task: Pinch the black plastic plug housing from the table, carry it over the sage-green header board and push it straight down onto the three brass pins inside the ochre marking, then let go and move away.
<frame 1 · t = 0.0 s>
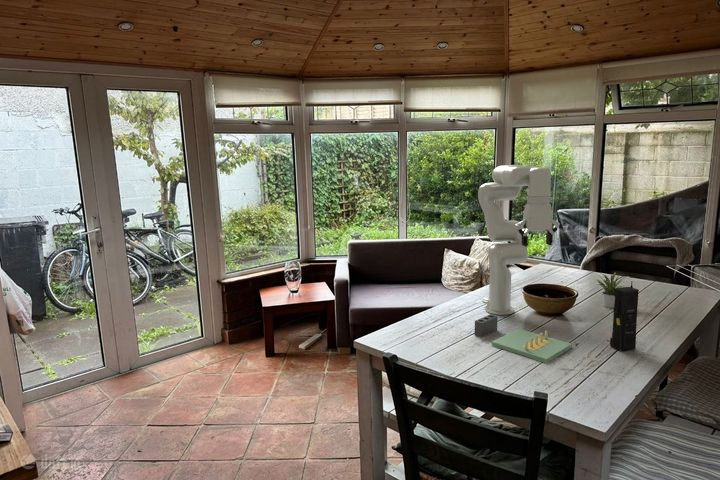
hand: (536, 245, 183), 37 cm above the table, tool pointing down, fingers open, 9 cm apart
portable radio: (621, 348, 177), on the table
plug housing: (486, 332, 196), on the table
house plant: (611, 306, 224), on the table
header board: (531, 346, 181), on the table
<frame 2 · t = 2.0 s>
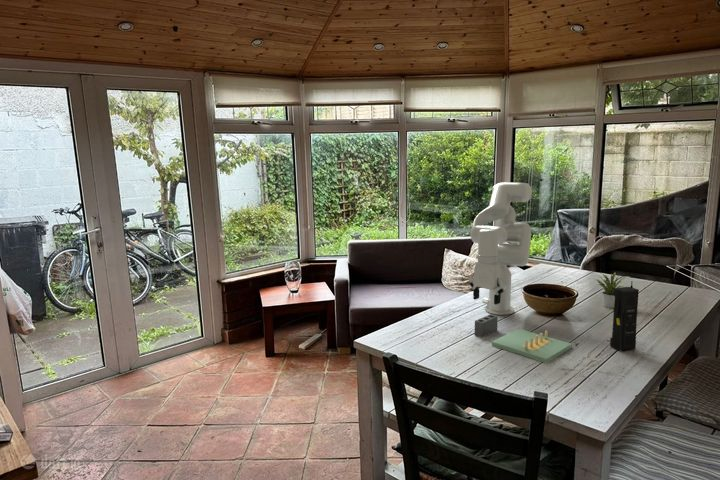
hand: (486, 301, 193), 14 cm above the table, tool pointing down, fingers open, 9 cm apart
nothing on the table moved.
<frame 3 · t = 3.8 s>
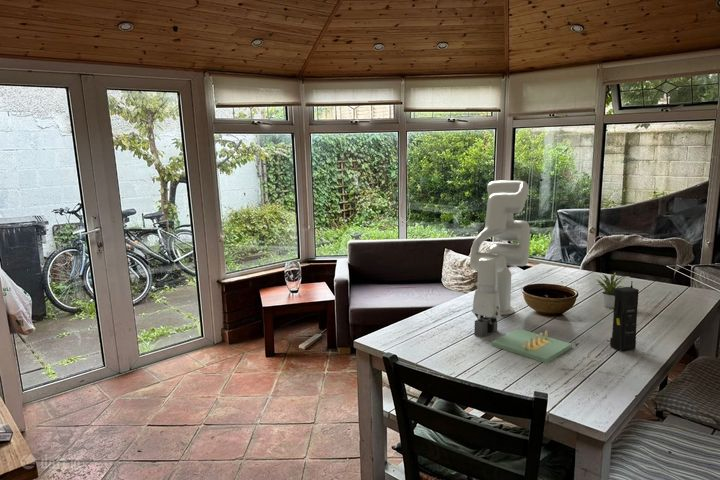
hand: (486, 330, 195), 1 cm above the table, tool pointing down, fingers closed on plug housing, 3 cm apart
plug housing: (485, 332, 196), on the table, touching gripper
everything else where it was.
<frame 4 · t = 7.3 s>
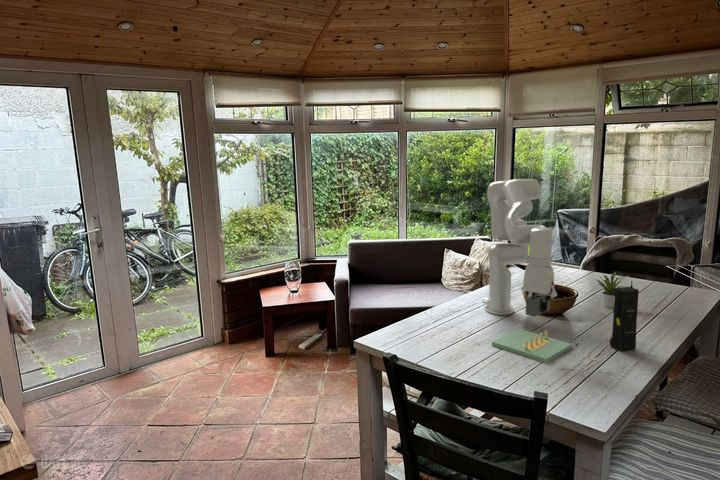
hand: (538, 309, 176), 15 cm above the table, tool pointing down, fingers closed on plug housing, 3 cm apart
plug housing: (537, 312, 176), point 14 cm above the table, touching gripper
everything else where it was.
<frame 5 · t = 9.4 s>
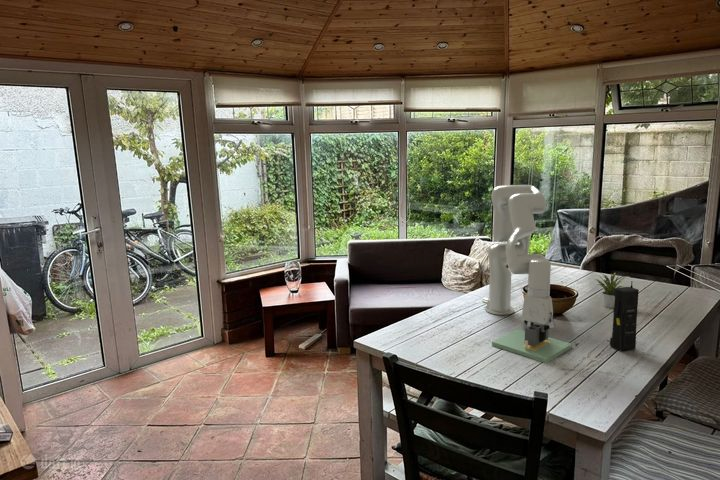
hand: (536, 338, 178), 4 cm above the table, tool pointing down, fingers closed on plug housing, 3 cm apart
plug housing: (536, 341, 179), point 3 cm above the table, touching gripper
everything else where it was.
when the fingers open (2 cm above the table, at t = 10.8 s): plug housing stays where it is, resting on header board.
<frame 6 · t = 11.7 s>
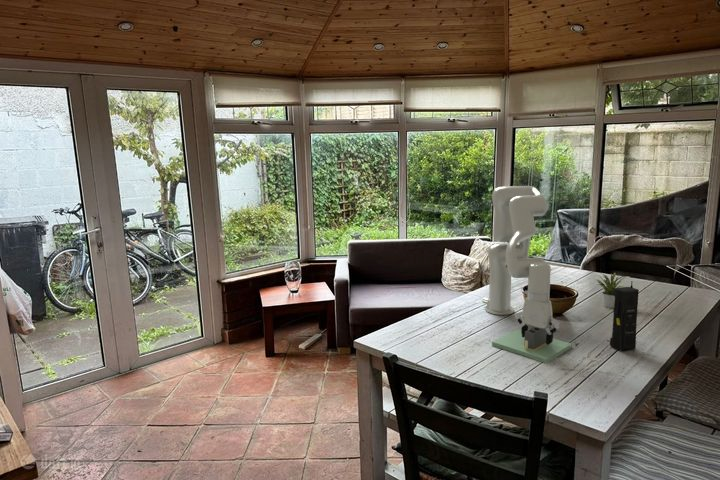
hand: (536, 339, 179), 3 cm above the table, tool pointing down, fingers open, 9 cm apart
plug housing: (536, 344, 179), point 2 cm above the table, touching header board
everything else where it was.
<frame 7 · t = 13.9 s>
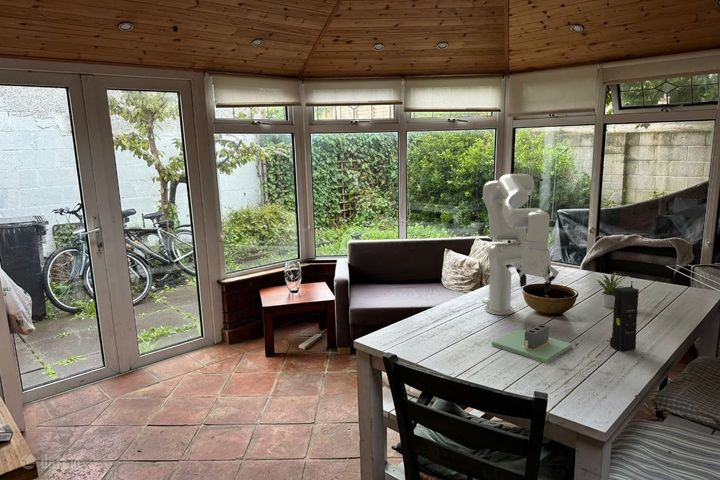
hand: (534, 288, 181), 21 cm above the table, tool pointing down, fingers open, 9 cm apart
nothing on the table moved.
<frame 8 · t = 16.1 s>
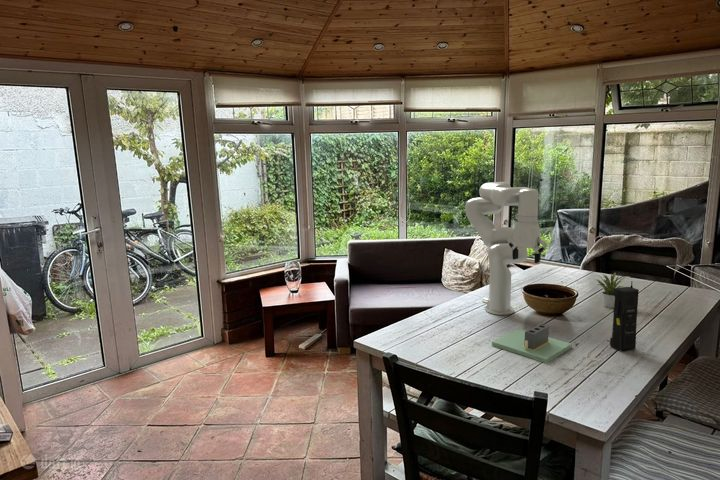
hand: (526, 260, 196), 28 cm above the table, tool pointing down, fingers open, 9 cm apart
nothing on the table moved.
at the end: plug housing 0.2 cm from the target spot on the header board, point 1.6 cm above the header board's base; plug housing tilted 0°; the gripper is holding nothing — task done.
